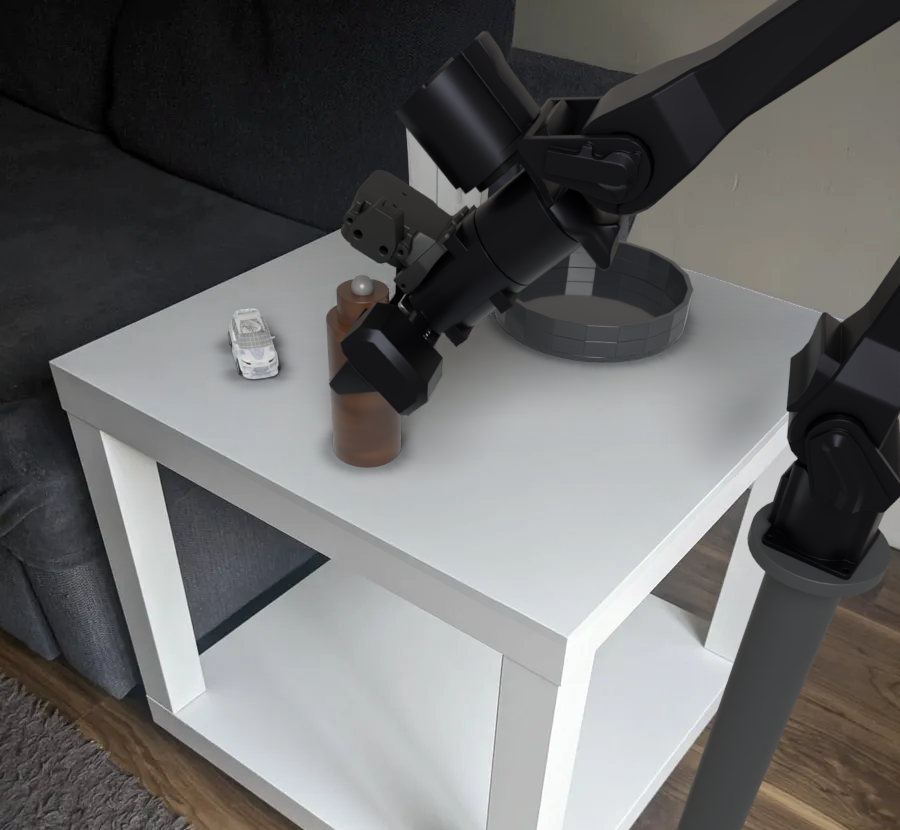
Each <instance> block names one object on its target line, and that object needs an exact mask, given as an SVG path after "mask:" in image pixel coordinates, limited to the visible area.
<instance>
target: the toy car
mask: <svg viewBox="0 0 900 830" xmlns="http://www.w3.org/2000/svg"><path fill="white" fill-rule="evenodd" d="M227 335H228V339H229V340H228V341H229V346H230V348H232V349H231V352H232V356H233V357H232V358H233V360H234V362H235V364H236V367H237V373H238V375H239V376H243V378H245V379H249V380H259V379H266V378H272V377H274V376H276V375H278V373H279V371H280V370H281V363H280V356H279V354H278V352H277V349H276V348H275V344H274V339H275V338H276V336H275V335H273V336H272V335H271V332H270V329H269V325H268V324H267V322H266V320H265V318H264V317H263V316H262V314H261V311H259V309H258V308H255V307H251V308H243V309H237V310H235V311H234V312H233V313H232V318H231V319H230V321H229V327H228V332H227Z"/></svg>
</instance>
